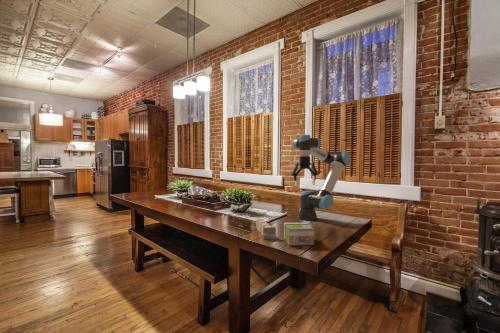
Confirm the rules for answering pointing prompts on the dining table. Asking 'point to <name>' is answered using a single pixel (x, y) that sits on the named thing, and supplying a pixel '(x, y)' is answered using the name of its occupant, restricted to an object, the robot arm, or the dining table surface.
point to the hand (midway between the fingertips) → (304, 185)
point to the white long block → (265, 229)
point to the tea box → (298, 234)
